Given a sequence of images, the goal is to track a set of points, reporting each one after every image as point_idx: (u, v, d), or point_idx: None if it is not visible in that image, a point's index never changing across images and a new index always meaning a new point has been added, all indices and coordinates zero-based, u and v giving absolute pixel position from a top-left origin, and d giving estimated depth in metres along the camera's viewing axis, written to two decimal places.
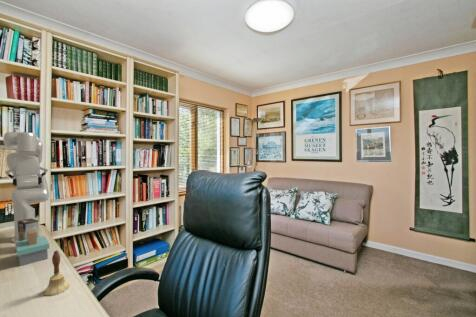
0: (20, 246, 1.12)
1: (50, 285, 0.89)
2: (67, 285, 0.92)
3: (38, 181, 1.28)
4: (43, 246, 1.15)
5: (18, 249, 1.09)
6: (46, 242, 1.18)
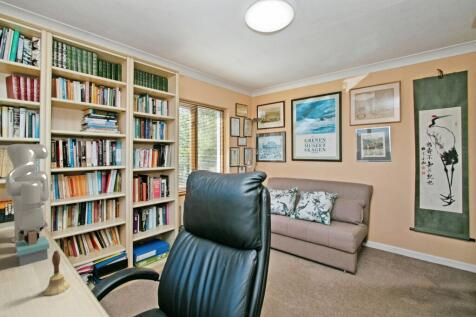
0: (20, 246, 1.12)
1: (50, 285, 0.89)
2: (67, 285, 0.92)
3: None
4: (43, 246, 1.15)
5: (18, 249, 1.09)
6: (46, 242, 1.18)
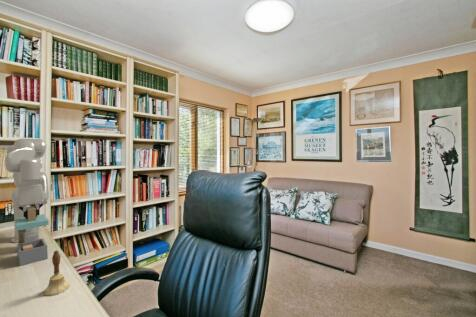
0: (20, 222, 1.12)
1: (50, 285, 0.89)
2: (67, 285, 0.92)
3: None
4: (42, 222, 1.15)
5: (17, 224, 1.09)
6: (45, 219, 1.18)
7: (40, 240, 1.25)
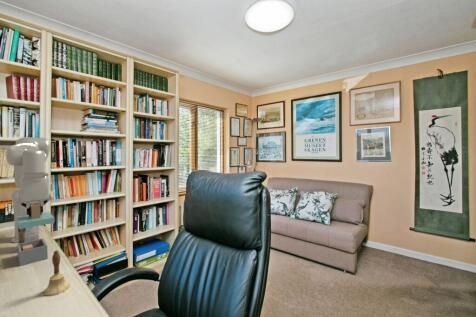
0: (22, 220, 1.01)
1: (50, 285, 0.89)
2: (67, 285, 0.92)
3: None
4: (47, 220, 1.03)
5: (20, 222, 0.98)
6: (51, 216, 1.06)
7: (40, 240, 1.25)
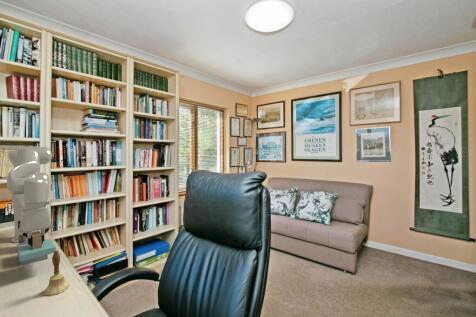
0: (24, 250, 1.00)
1: (50, 285, 0.89)
2: (67, 285, 0.92)
3: None
4: (49, 250, 1.02)
5: (21, 254, 0.97)
6: (52, 245, 1.05)
7: None
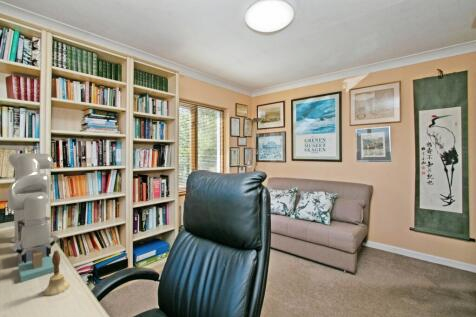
0: (24, 270, 1.00)
1: (50, 285, 0.89)
2: (67, 285, 0.92)
3: (47, 252, 1.08)
4: (49, 269, 1.03)
5: (22, 274, 0.97)
6: None
7: None
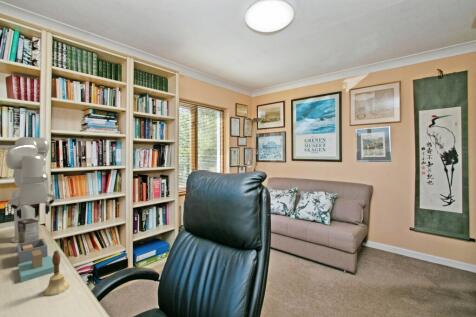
0: (24, 270, 1.00)
1: (50, 285, 0.89)
2: (67, 285, 0.92)
3: (45, 210, 1.12)
4: (49, 269, 1.03)
5: (22, 274, 0.97)
6: None
7: (40, 240, 1.25)
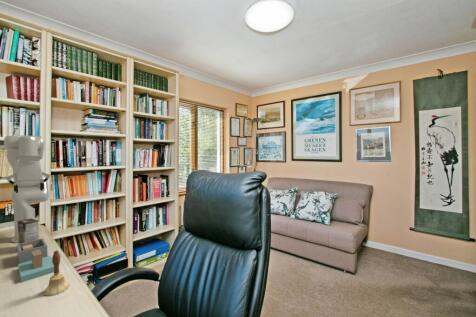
0: (24, 270, 1.00)
1: (50, 285, 0.89)
2: (67, 285, 0.92)
3: (40, 187, 1.23)
4: (49, 269, 1.03)
5: (22, 274, 0.97)
6: None
7: (40, 240, 1.25)
